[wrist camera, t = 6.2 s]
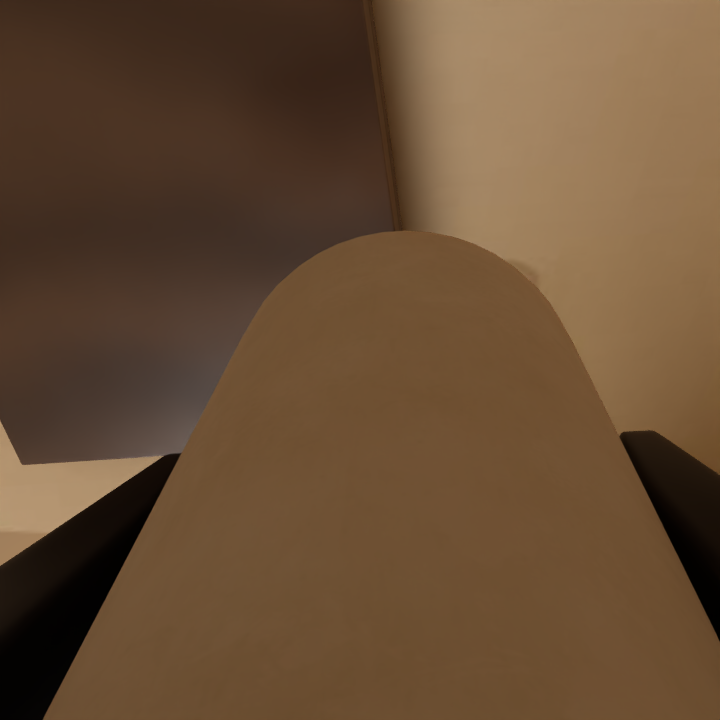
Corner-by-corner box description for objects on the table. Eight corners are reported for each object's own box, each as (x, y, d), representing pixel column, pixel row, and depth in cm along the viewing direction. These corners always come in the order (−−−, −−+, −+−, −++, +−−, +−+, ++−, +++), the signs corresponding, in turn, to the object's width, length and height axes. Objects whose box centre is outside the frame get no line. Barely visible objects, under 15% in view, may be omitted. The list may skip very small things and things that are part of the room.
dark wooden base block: (426, 404, 23) (424, 439, 21) (51, 432, 25) (21, 465, 23) (360, -86, 16) (349, -96, 14) (-137, 16, 19) (-197, 19, 17)
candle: (278, 523, 13) (-10, 1637, 4) (206, 249, 11) (-908, 1532, 2) (573, 502, 12) (1001, 1790, 3) (569, 202, 10) (2106, 2018, 1)
